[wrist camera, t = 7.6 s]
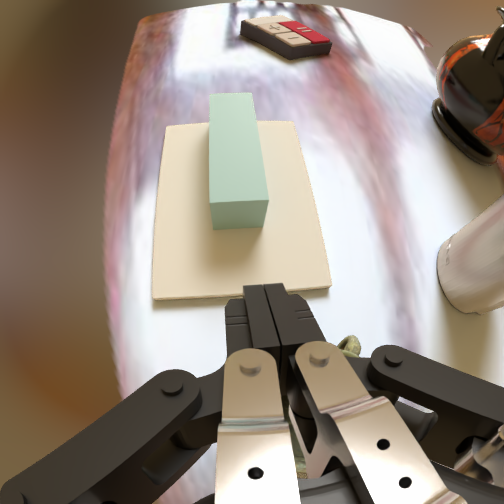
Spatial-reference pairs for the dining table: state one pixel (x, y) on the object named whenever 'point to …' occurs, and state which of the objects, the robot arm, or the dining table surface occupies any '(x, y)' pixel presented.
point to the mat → (234, 240)
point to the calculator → (285, 36)
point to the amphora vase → (473, 95)
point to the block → (235, 163)
